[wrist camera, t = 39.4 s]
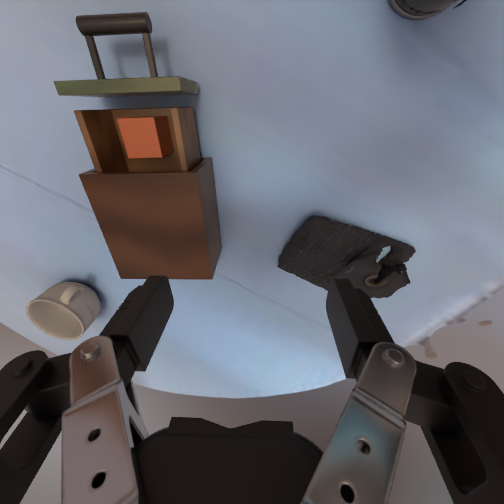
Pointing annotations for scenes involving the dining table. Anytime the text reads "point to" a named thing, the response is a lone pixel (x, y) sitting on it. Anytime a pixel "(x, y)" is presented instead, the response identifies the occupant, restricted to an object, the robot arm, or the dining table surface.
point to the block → (146, 136)
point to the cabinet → (158, 221)
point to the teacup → (64, 310)
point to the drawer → (105, 121)
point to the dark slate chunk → (346, 257)
